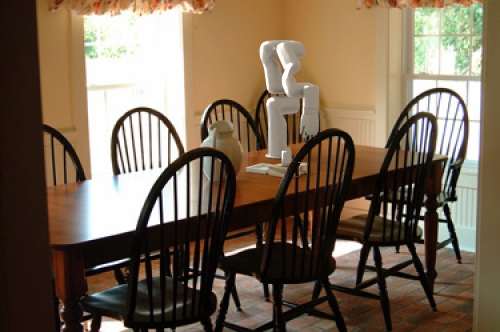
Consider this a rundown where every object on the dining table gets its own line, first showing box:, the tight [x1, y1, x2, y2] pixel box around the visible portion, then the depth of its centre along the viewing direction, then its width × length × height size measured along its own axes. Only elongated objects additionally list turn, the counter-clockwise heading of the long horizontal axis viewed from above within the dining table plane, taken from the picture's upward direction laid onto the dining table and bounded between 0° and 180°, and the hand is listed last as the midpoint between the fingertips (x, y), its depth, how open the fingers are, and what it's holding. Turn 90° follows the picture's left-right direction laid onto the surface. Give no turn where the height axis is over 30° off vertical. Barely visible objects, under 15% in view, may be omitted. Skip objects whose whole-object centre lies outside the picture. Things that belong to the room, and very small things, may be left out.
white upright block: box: [281, 150, 293, 167], centre depth 341 cm, size 4×4×11 cm
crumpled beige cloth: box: [268, 162, 308, 178], centre depth 343 cm, size 16×12×4 cm
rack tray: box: [245, 163, 274, 175], centre depth 351 cm, size 13×11×2 cm
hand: (309, 148), depth 357 cm, fingers closed
